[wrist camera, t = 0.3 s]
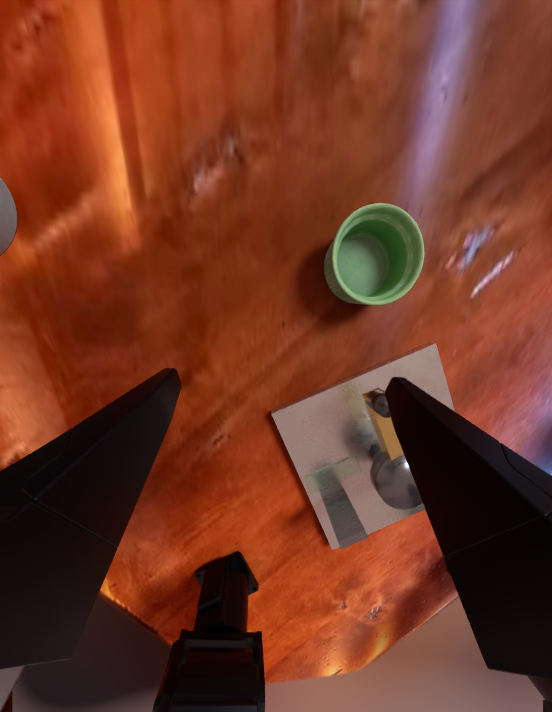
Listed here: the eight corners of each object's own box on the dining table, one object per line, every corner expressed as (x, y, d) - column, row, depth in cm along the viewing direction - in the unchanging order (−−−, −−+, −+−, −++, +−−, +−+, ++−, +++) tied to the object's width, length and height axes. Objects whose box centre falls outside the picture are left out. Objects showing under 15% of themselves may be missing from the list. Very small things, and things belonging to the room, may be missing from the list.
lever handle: (432, 482, 24) (453, 503, 21) (380, 505, 24) (395, 528, 21) (397, 376, 21) (417, 383, 19) (340, 400, 21) (351, 411, 19)
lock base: (468, 481, 29) (526, 525, 23) (329, 542, 29) (350, 604, 23) (429, 342, 26) (485, 348, 19) (270, 410, 25) (274, 439, 19)
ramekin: (345, 324, 25) (364, 324, 20) (302, 256, 23) (313, 241, 19) (408, 278, 24) (441, 269, 20) (370, 207, 23) (395, 181, 19)
